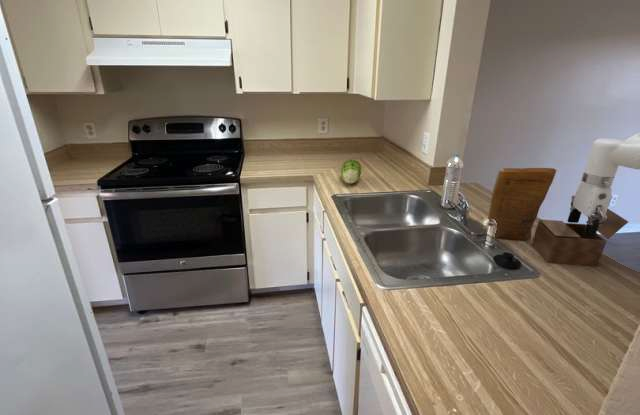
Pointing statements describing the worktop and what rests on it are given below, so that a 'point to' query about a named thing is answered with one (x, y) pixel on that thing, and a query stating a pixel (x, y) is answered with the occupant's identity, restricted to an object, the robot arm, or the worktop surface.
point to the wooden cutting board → (518, 200)
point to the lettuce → (351, 171)
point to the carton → (567, 243)
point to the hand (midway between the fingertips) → (580, 228)
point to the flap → (611, 224)
